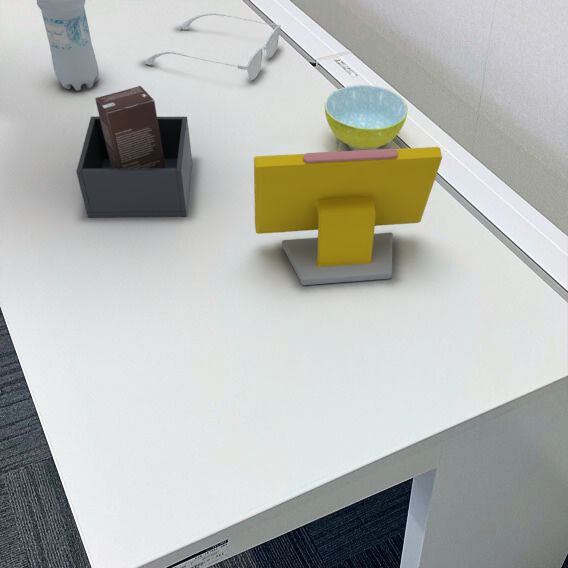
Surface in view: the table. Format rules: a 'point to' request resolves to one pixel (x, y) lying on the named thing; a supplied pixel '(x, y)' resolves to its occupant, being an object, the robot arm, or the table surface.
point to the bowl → (365, 115)
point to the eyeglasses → (255, 60)
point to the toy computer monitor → (342, 207)
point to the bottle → (70, 42)
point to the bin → (137, 176)
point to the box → (131, 129)
